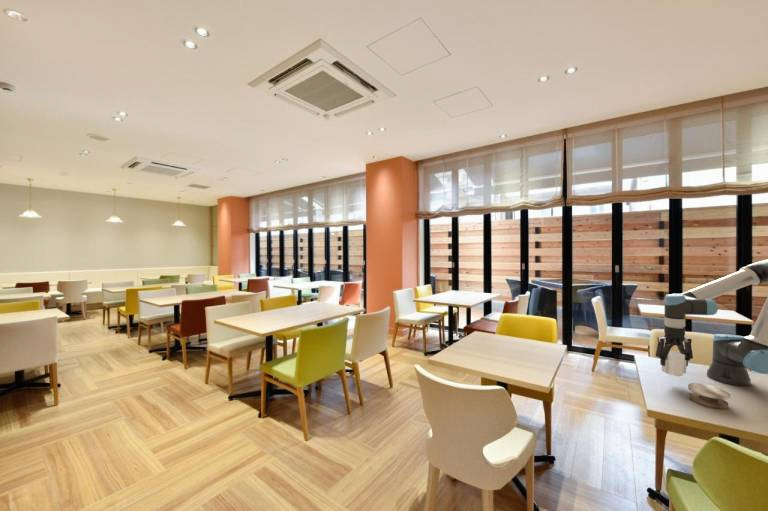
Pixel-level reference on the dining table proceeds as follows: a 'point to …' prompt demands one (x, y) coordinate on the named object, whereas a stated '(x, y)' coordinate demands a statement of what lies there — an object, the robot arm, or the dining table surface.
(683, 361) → the white cup
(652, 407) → the dining table surface
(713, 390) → the cake stand
